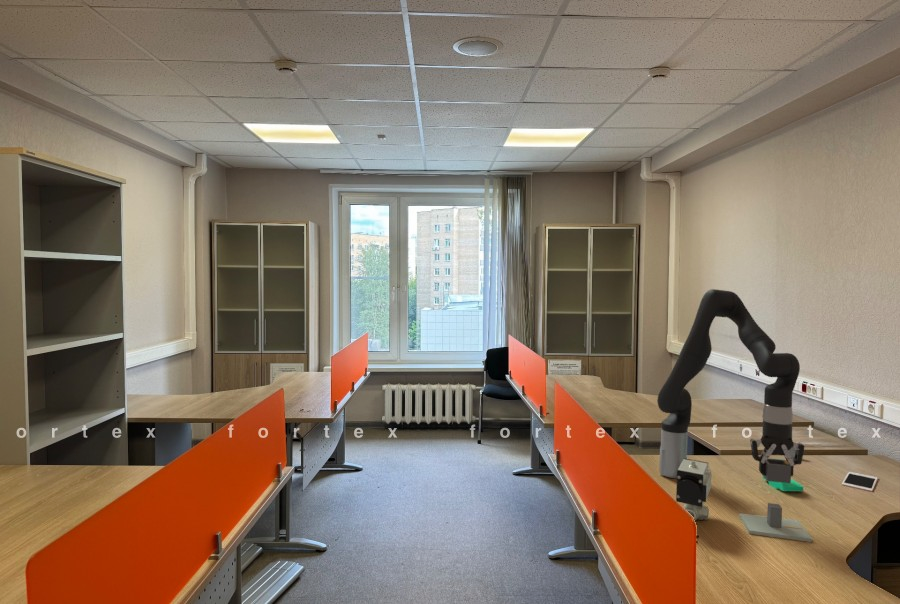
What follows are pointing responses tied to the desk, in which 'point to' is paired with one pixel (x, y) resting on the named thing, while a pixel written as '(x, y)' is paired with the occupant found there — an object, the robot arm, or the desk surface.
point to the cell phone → (860, 481)
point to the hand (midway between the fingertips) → (775, 475)
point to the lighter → (792, 452)
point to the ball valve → (694, 487)
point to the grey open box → (778, 471)
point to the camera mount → (786, 485)
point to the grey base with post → (775, 525)
